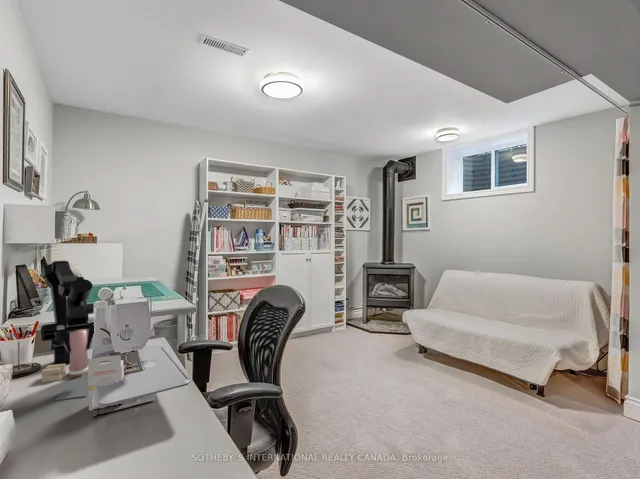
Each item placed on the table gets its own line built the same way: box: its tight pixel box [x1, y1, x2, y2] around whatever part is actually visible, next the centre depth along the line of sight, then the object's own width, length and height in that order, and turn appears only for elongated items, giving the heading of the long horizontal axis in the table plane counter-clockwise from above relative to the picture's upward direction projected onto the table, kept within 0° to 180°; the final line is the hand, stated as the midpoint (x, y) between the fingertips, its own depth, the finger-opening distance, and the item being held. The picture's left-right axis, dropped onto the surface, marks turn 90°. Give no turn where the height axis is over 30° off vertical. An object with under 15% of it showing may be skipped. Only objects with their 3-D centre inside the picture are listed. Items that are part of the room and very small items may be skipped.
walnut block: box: [68, 358, 90, 378], centre depth 119 cm, size 6×4×4 cm, turn 14°
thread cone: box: [68, 329, 89, 375], centre depth 107 cm, size 5×5×13 cm
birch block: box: [41, 364, 66, 383], centre depth 115 cm, size 5×5×4 cm
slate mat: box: [54, 377, 88, 402], centre depth 107 cm, size 14×8×1 cm, turn 18°
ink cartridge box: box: [86, 354, 125, 412], centre depth 97 cm, size 9×5×15 cm, turn 115°
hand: (78, 350), depth 106 cm, fingers closed on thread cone, 5 cm apart
